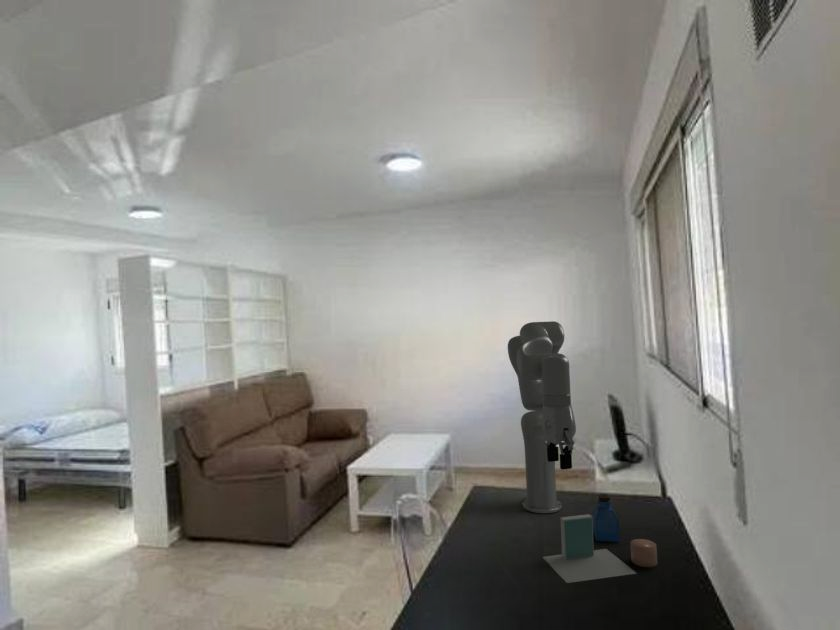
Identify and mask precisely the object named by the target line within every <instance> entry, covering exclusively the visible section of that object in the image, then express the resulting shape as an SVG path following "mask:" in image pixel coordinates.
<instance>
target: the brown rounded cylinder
mask: <svg viewBox="0 0 840 630" xmlns="http://www.w3.org/2000/svg"><path fill="white" fill-rule="evenodd" d="M629 544H630V556H631V557H630V558H631V562H632V563H633V564H635V565H636V566H638V567H642V568H654V567H656V566H658V551H657V549H658V548H657V543H655V542H654V541H651V540H649V539H645V538H644V539H643V538H635V539H632V540H631V541H630V543H629Z"/></svg>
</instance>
